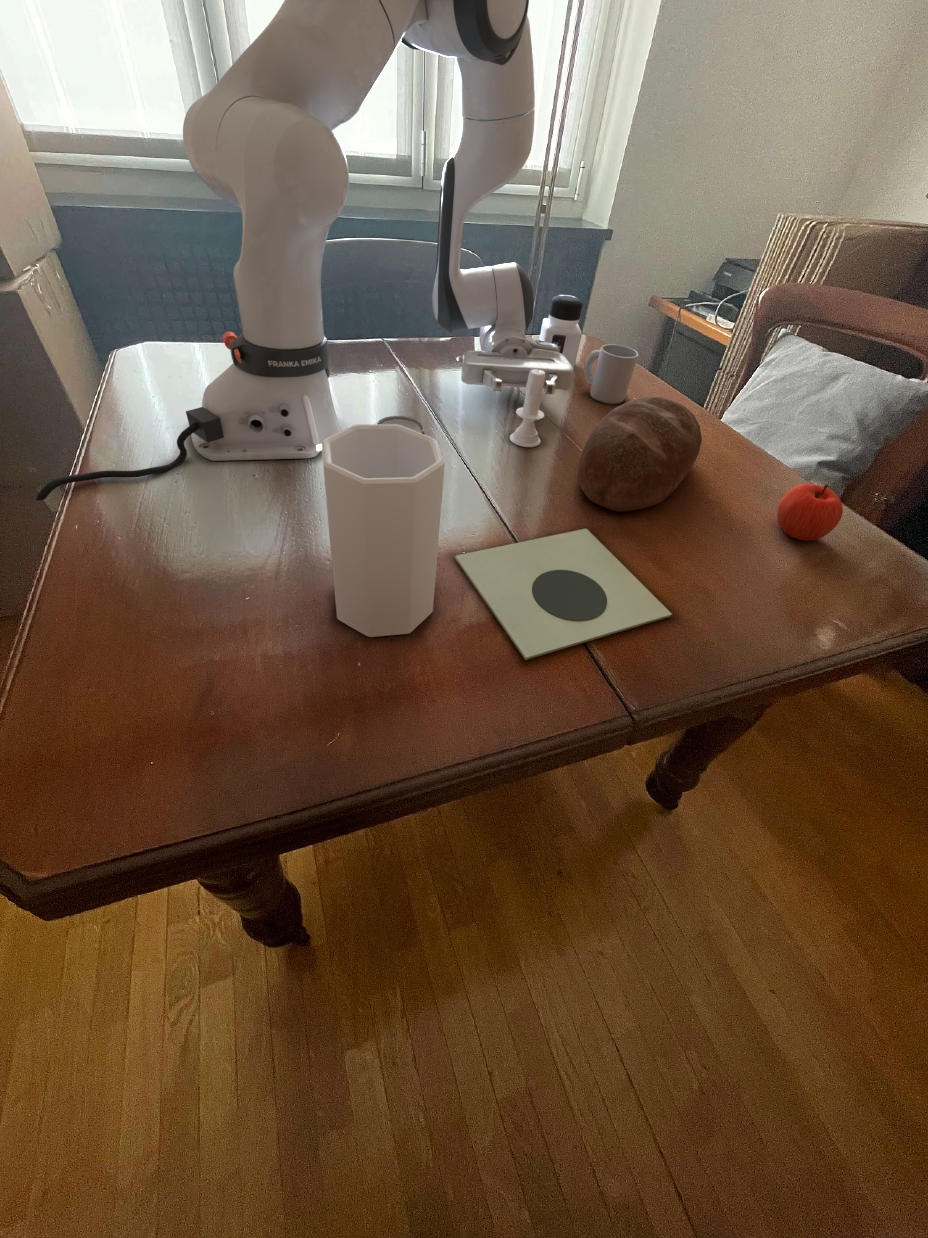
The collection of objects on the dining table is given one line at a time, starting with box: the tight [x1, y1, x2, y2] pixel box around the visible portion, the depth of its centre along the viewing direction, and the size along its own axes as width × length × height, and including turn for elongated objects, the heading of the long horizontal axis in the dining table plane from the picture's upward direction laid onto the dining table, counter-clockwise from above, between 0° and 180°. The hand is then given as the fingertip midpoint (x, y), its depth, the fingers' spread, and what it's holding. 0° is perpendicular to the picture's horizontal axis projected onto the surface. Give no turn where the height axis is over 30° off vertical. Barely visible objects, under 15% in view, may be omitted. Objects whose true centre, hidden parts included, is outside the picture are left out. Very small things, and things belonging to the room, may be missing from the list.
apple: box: [776, 483, 844, 542], centre depth 78 cm, size 8×8×8 cm
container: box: [538, 294, 584, 370], centre depth 118 cm, size 8×8×13 cm
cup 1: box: [321, 423, 446, 638], centre depth 54 cm, size 11×11×18 cm
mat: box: [454, 528, 673, 661], centre depth 66 cm, size 20×18×1 cm
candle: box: [509, 369, 545, 448], centre depth 89 cm, size 5×5×12 cm
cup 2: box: [583, 343, 639, 405], centre depth 108 cm, size 7×10×9 cm
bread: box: [576, 396, 703, 513], centre depth 84 cm, size 16×29×11 cm, turn 147°
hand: (524, 388), depth 93 cm, fingers open, 8 cm apart
